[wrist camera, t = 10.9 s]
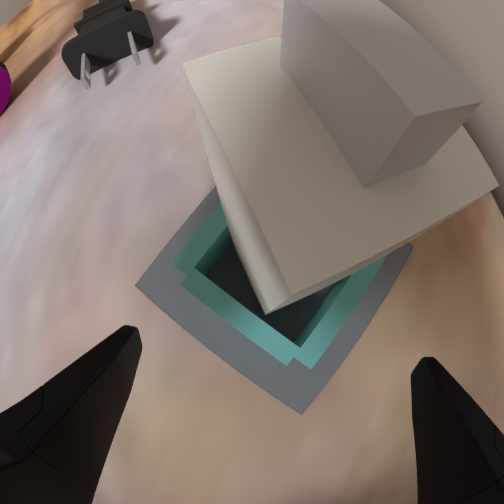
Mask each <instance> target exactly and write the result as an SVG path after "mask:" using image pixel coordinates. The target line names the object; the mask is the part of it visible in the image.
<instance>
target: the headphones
mask: <svg viewBox="0 0 504 504" xmlns="http://www.w3.org/2000/svg"><path fill="white" fill-rule="evenodd" d="M10 95H11V79H10V75H9V73H8V70H7V68H6V66H5V65H4V64H3V63H1V62H0V115H1V114H2V112H3V111H4V109H5V108H6V106H7V104H8V101H9V98H10Z"/></svg>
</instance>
